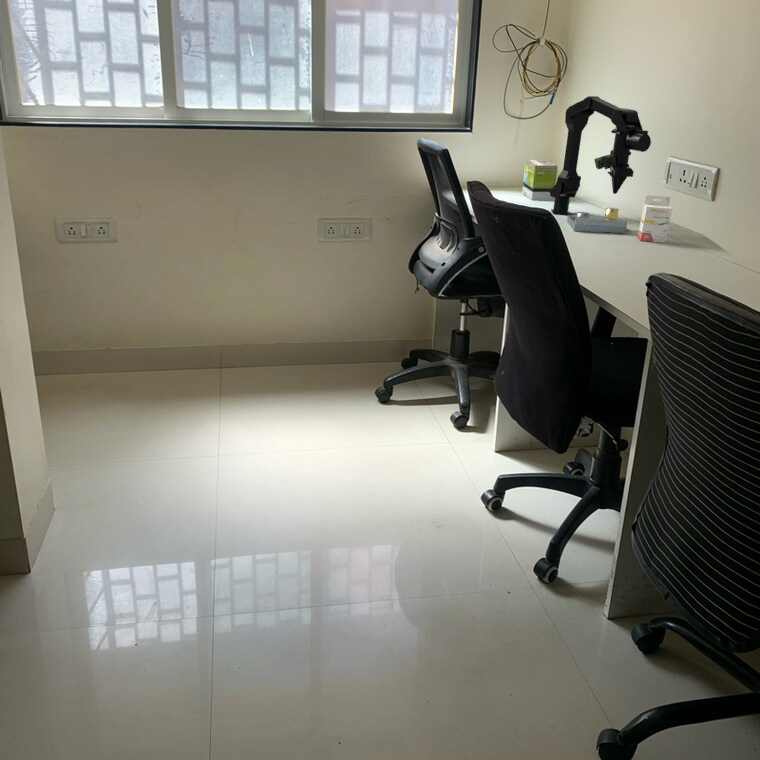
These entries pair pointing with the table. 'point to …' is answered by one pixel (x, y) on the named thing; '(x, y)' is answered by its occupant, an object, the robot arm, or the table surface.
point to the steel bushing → (583, 215)
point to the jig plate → (597, 224)
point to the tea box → (539, 179)
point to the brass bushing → (611, 213)
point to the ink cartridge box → (655, 219)
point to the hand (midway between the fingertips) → (614, 193)
